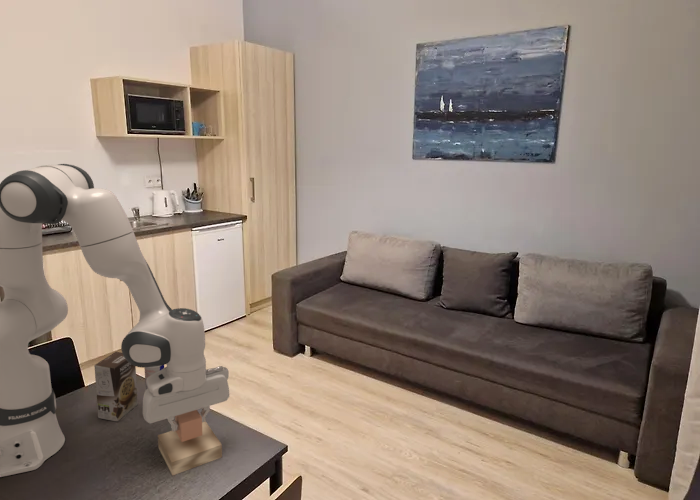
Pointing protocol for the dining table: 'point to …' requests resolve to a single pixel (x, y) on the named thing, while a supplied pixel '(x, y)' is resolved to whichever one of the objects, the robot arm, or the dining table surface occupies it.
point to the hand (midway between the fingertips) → (188, 425)
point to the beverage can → (151, 371)
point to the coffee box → (115, 387)
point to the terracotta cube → (189, 425)
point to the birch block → (189, 450)
